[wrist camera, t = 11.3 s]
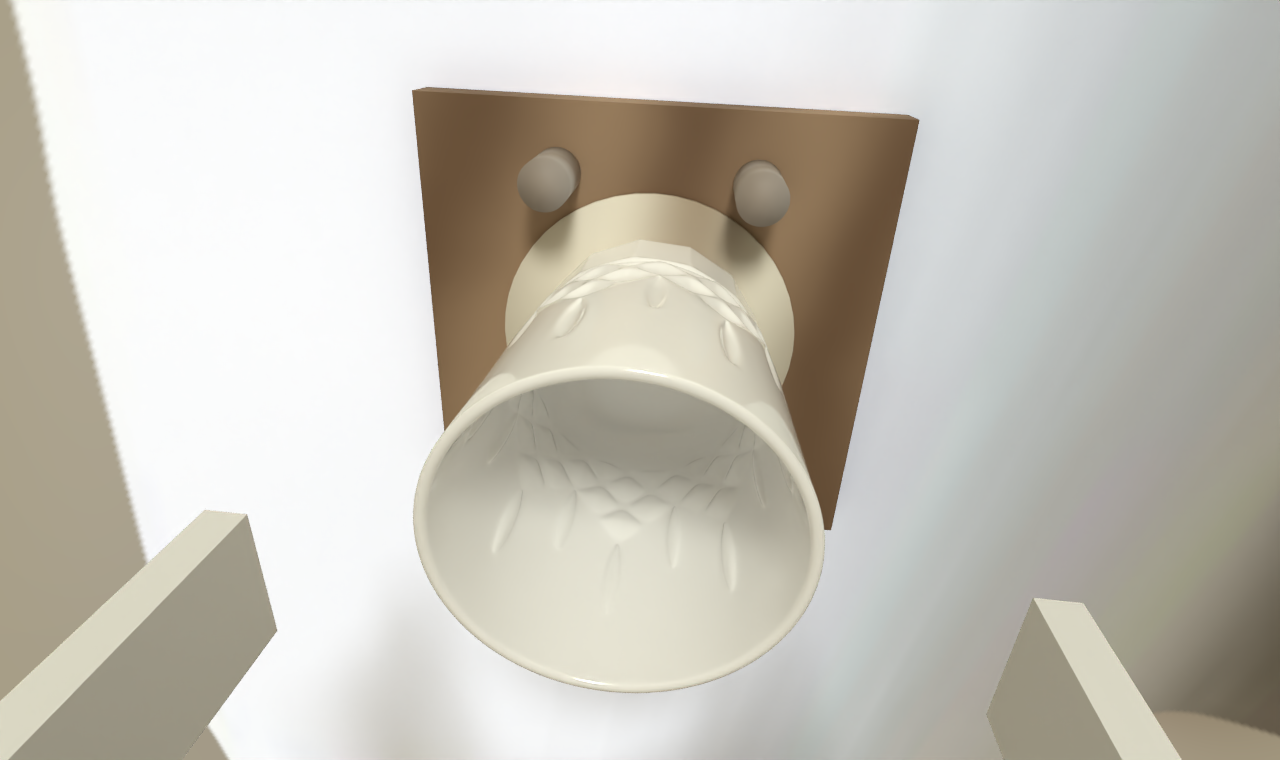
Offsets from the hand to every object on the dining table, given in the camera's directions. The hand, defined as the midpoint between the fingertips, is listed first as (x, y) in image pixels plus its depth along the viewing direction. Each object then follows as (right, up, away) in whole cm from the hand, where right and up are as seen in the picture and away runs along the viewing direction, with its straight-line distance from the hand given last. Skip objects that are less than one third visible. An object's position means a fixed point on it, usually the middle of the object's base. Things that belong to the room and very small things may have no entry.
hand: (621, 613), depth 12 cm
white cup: (+1, +5, +10) cm, 12 cm away
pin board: (+1, +6, +11) cm, 13 cm away
